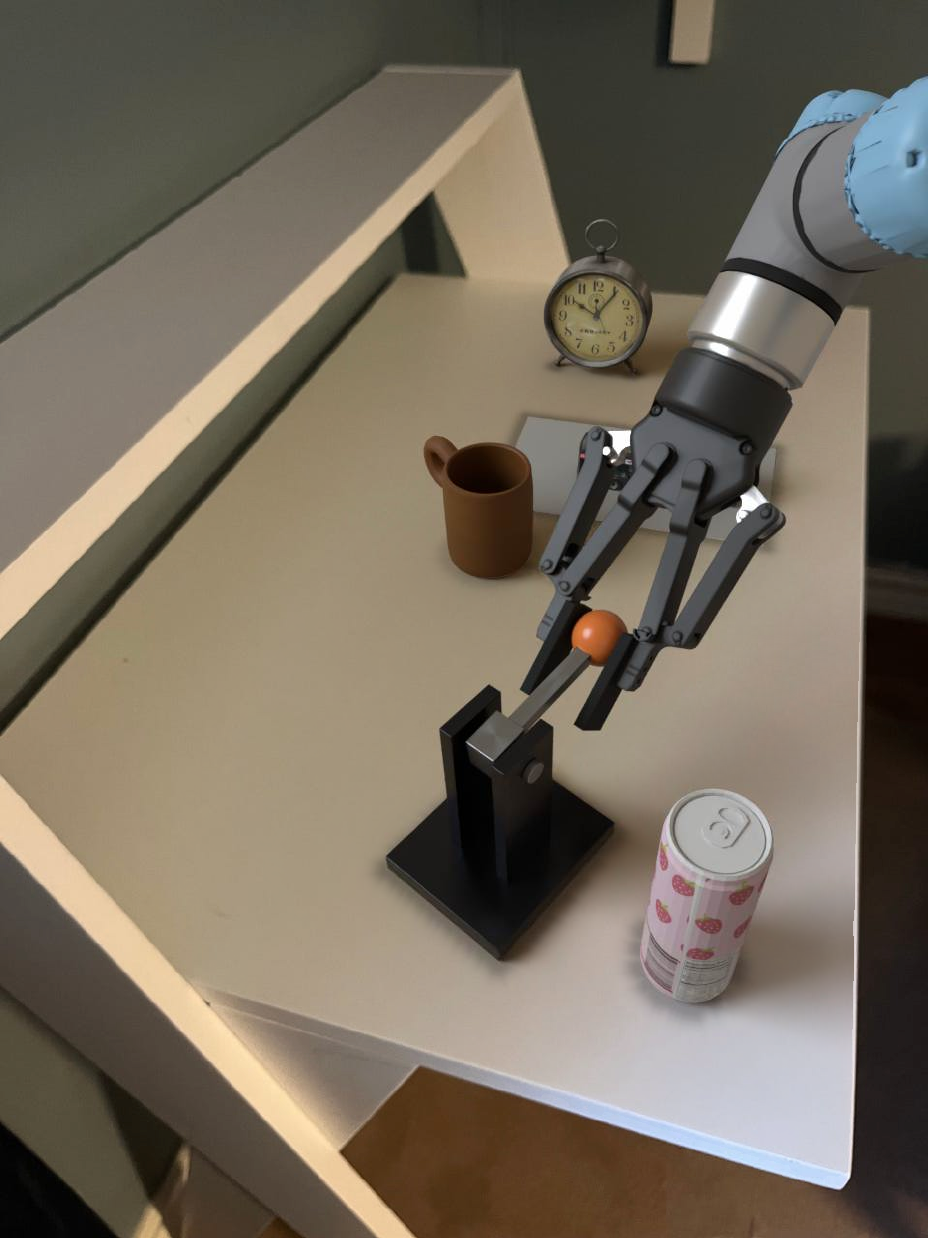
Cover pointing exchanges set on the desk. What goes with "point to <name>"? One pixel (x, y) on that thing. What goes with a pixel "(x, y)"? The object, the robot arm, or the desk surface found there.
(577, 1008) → the desk surface
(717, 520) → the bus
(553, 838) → the switch bracket
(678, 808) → the beverage can
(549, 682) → the switch lever
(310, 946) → the desk surface
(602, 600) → the desk surface
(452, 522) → the mug
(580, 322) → the alarm clock
